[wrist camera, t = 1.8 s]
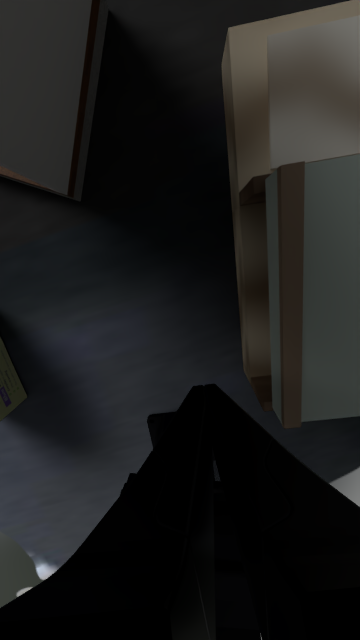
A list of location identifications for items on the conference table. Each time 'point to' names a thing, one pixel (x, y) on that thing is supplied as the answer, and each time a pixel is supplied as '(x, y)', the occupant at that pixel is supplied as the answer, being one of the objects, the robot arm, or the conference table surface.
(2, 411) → the box
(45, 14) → the tall white pillar
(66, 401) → the conference table surface
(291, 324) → the lid
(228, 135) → the cardboard tray
